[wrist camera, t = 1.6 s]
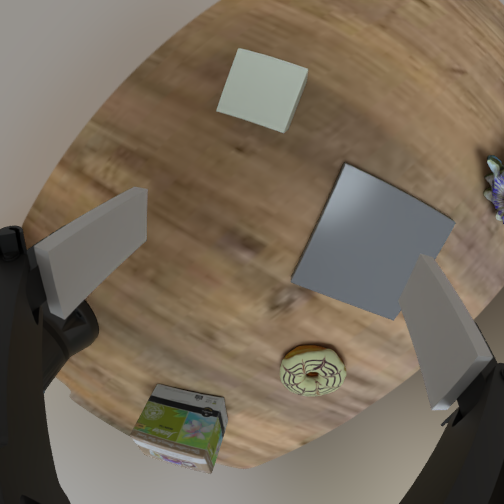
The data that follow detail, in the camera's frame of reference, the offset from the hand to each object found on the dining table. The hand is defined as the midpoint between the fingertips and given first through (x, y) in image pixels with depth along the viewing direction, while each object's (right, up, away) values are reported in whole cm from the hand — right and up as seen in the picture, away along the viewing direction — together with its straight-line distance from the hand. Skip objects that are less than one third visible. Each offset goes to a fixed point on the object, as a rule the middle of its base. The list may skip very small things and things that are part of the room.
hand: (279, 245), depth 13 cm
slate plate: (+14, 0, +21) cm, 25 cm away
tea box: (-14, -32, +43) cm, 56 cm away
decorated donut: (+9, -18, +32) cm, 38 cm away
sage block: (+1, +17, +15) cm, 22 cm away
